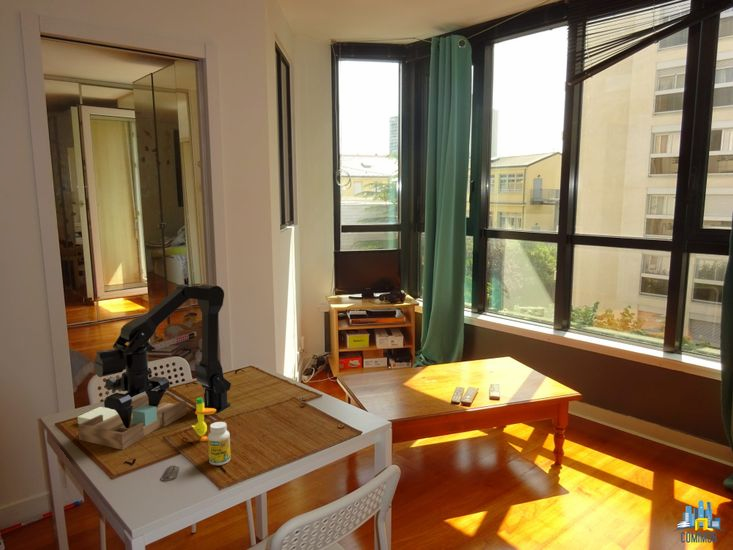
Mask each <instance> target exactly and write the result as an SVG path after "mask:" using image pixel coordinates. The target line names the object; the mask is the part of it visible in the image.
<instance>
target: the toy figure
mask: <svg viewBox="0 0 733 550" xmlns="http://www.w3.org/2000/svg"><path fill="white" fill-rule="evenodd" d="M195 405H196V406H195V407H196V408H195V409H196V410H195V412H194V414H195V415H196V417H197V423H196V424H195V425H191V427H192V429H193V430H194V431H195V433H196V434H197V435H198V437H200V439H199V442H208V436H206V435H205V434H206V433H207V431H208V425H207V423H206V422H205V415H206V416H207V415H214V414H215V413H217V412H216V409H214V408H204V406H205V405H204V400H203V397H198V398H196V402H195Z"/></svg>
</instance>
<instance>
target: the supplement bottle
mask: <svg viewBox="0 0 733 550" xmlns="http://www.w3.org/2000/svg"><path fill="white" fill-rule="evenodd" d="M209 430H210V432H209V433H208V436H207V437H208V439H207V446H208V448H207V450H208V462H209V463H210V465H213V466H222V465H225V464H227V463H229V462H230V460H231V458H232V457H231V455H232V454H231V437H230V435H231V434H230V431H229V430H228V425H227V423H226V422H225V421H216V422H213V423H211V424H210V425H209Z"/></svg>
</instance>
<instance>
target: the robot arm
mask: <svg viewBox="0 0 733 550" xmlns="http://www.w3.org/2000/svg"><path fill="white" fill-rule="evenodd" d="M191 299H193V300H196V301H197V305H198V307H199V310H200V312H201V359H200V360H199V363H195V364H194V377H195V379H196V381H197V383H199V384H200V385H201V387H202V388H203V389H204V393H203V401H204V408H214V409H216V412H215V413H220V412H221V411H223V410H225V409H227V408H228V407H230V406H231V403H230V402H228V391H230V390H231V386H232V383H231V382H230V381H228V380H227V379H226V378H225V376H224V371H223V366H222V364H221V363H220V360H219V312H220V311H221V309H222V307H223V305H224V300H225V290H224V289H223V288H222V287H221V286H218V285H216V284H215V285H214V284H212V283H211V284H210V283H202V284H200V285H190V284H189V285H188V284H184V283H181V284H179V285H177V286H176V287H175V289H174V290H172V292H171V293H169V294H168V295H167V296H166V297H164V298H163V299H162V300H160V302H158V303H157V304H156V305H154V306H153V308H151V309H150V310H149V311H148V312H146V313H145V314H143V315H141V316H138V317H135V318H133V319H132V320H131V321H130V320H129V322H127V323H125V324H124V325H122V327H121V328H120V333H119V336H118V337H117V338H116V340H115V342H114V343H113V345H112V348H111V349H107V350H97V351H96V356H95V357H94V362H93V368H94V371H95V375H96V376H97V377H98V378H103V377H108V376H111V375H115V374H119V373H122V374H121V376H119V377H115V376H112V377H108V378H106V379H105V388H106V390H107V391H112V394H110V395H107V396H106V397H105V398H104V399H103V406H104V408H109V409H113V410H115V411H116V412H117V413H118V414H119V416H120V418H121V420H122V422H123V424H124V426H125V427H126V428H129V427H130V423H131V415H132V408H133V406H130V405H131V403H132V400H133V399H134V398H136V397H137V398H138V397H140V396H142V395H144V394H147V396H148V402H149V405H150V406H155V407H158V405H160V404H161V400H162V399H163V397H164V394H165V393H166V392H167V391H168V389H169V388H170V381H169V380H168V378H167V377H161V376H156V375H155V376H152V377H149V375H151V374H152V373H153V370H152V369H149V360H148V357H149V356H148V352H150V351H155V350H156V347H154V346H153V345H151V344H150V342H149V341H150V340H151V338H152V337H153V336H154V335H155V333H156V330H157V329H158V327H159V326H160V325H161V324H162V323H163V322H164V321H165V320H166V319H168V318H169V317H170V316H171V315H172V314H173V313H175V311H177V310H178V309H180V307H182V306H183V305H184V304H185V303H186V302H187V301H189V300H191ZM124 370H125V371H124ZM123 371H124V372H123ZM119 390H121V391H120V392H116V391H119ZM121 392H126V393H121Z"/></svg>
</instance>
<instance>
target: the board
mask: <svg viewBox="0 0 733 550" xmlns="http://www.w3.org/2000/svg"><path fill="white" fill-rule="evenodd" d="M117 414H118V413H117V412H116V411H115V410H113V409H110V408H106V407H103V406H99V407H96V408H95V409H91V410H89V411H87V412H85V413H83V414H80V415H78V416H77V424H78V425H79V424H81V423H83V422H86V421H88V420H90V419H92V418H94V417H97V416H99V415H103V421H104V420H106V419H109V418H111V417H113V416H115V415H117Z"/></svg>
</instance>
